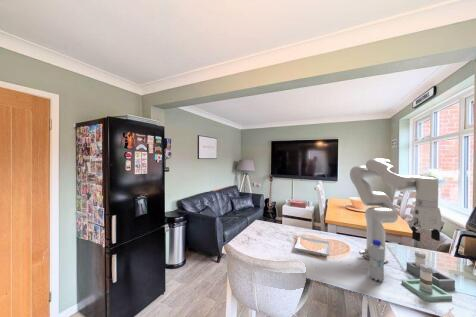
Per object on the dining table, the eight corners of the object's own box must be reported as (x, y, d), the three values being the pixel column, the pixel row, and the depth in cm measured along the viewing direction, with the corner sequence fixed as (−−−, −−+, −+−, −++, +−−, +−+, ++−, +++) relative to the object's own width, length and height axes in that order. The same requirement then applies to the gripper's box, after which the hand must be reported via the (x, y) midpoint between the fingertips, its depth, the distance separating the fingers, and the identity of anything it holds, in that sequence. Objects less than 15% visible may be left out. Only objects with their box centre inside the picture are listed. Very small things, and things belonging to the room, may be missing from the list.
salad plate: (298, 240, 146) (298, 235, 146) (329, 246, 137) (329, 241, 137) (293, 252, 127) (294, 247, 127) (329, 260, 118) (329, 254, 118)
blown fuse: (426, 293, 88) (426, 269, 88) (416, 287, 92) (417, 264, 92) (435, 293, 88) (435, 269, 88) (425, 286, 93) (425, 264, 93)
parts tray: (426, 301, 84) (426, 296, 84) (401, 283, 96) (401, 279, 96) (452, 299, 85) (452, 295, 85) (424, 282, 97) (424, 278, 97)
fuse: (420, 275, 103) (420, 255, 103) (412, 270, 107) (412, 251, 107) (428, 275, 103) (428, 255, 103) (419, 270, 107) (420, 251, 107)
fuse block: (454, 288, 92) (455, 280, 92) (439, 289, 92) (439, 281, 92) (419, 269, 109) (420, 261, 109) (406, 269, 108) (406, 262, 108)
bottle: (365, 275, 103) (365, 237, 103) (377, 274, 103) (377, 237, 103) (375, 283, 96) (376, 243, 96) (388, 282, 96) (388, 242, 96)
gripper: (417, 205, 86) (416, 243, 86) (452, 205, 88) (452, 243, 88) (401, 201, 94) (401, 236, 94) (434, 201, 95) (434, 236, 95)
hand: (425, 239), depth 91 cm, fingers open, 9 cm apart
